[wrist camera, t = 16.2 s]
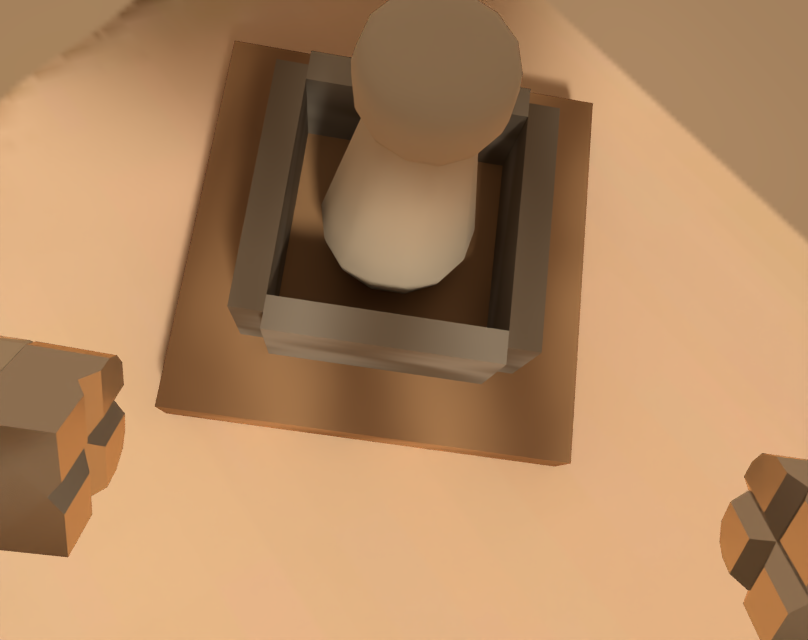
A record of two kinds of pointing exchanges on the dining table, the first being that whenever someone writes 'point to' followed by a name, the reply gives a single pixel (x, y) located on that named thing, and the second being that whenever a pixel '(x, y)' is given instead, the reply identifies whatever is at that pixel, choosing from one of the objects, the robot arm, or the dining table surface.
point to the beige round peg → (419, 139)
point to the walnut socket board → (370, 308)
